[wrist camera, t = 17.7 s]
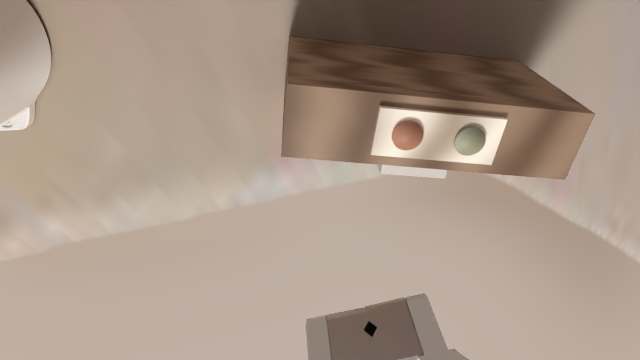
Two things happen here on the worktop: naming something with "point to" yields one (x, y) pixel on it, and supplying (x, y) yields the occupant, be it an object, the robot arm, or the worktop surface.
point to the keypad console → (426, 111)
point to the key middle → (412, 171)
